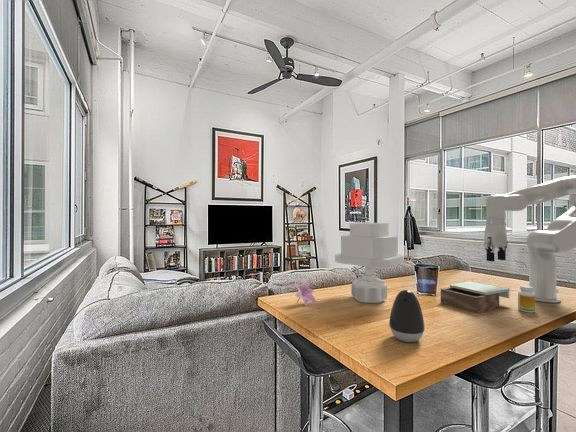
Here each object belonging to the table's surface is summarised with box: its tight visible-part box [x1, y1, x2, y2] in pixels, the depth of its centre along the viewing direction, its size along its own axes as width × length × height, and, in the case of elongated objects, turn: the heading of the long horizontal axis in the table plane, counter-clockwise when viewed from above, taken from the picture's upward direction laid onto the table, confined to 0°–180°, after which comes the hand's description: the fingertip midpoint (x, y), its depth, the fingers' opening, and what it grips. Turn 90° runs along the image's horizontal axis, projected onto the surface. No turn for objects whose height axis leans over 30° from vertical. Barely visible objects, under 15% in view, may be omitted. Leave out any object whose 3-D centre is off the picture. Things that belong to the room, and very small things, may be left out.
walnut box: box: [440, 286, 500, 314], centre depth 130 cm, size 15×16×6 cm
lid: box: [449, 281, 510, 299], centre depth 133 cm, size 16×16×4 cm
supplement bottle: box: [517, 285, 536, 313], centre depth 122 cm, size 5×5×10 cm
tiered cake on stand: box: [334, 222, 405, 304], centre depth 139 cm, size 27×27×35 cm
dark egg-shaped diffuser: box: [388, 289, 426, 343], centre depth 94 cm, size 10×10×15 cm
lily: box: [294, 278, 318, 307], centre depth 132 cm, size 12×12×10 cm
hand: (496, 260), depth 138 cm, fingers open, 7 cm apart
